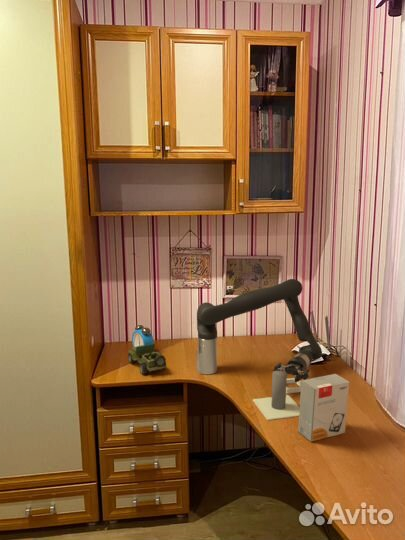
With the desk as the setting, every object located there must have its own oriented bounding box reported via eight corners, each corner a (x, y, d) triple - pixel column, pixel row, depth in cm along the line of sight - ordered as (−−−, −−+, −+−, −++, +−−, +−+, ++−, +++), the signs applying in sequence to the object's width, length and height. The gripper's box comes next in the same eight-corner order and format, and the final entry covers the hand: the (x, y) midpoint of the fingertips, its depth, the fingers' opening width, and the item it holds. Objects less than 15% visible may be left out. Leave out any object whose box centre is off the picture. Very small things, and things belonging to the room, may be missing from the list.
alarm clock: (132, 350, 228) (131, 324, 225) (141, 348, 232) (141, 322, 229) (144, 358, 218) (144, 330, 215) (154, 355, 222) (154, 328, 219)
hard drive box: (310, 443, 144) (313, 389, 141) (297, 431, 151) (299, 380, 147) (346, 433, 150) (349, 381, 147) (331, 422, 157) (334, 372, 154)
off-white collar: (286, 393, 180) (286, 389, 179) (277, 383, 189) (277, 379, 188) (306, 391, 182) (307, 386, 181) (297, 381, 191) (297, 377, 191)
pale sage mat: (267, 420, 158) (267, 419, 158) (252, 400, 174) (252, 399, 174) (306, 415, 162) (306, 414, 162) (288, 396, 177) (288, 395, 177)
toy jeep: (148, 356, 221) (148, 336, 219) (169, 373, 200) (169, 352, 198) (126, 361, 215) (126, 340, 213) (146, 379, 194) (145, 357, 192)
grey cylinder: (274, 410, 165) (275, 377, 162) (269, 403, 170) (270, 371, 167) (287, 408, 166) (289, 375, 163) (282, 402, 171) (283, 370, 169)
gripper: (283, 353, 189) (269, 365, 175) (315, 359, 181) (302, 373, 168) (283, 368, 190) (269, 382, 176) (314, 375, 183) (302, 390, 169)
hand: (285, 377), depth 172 cm, fingers open, 8 cm apart
